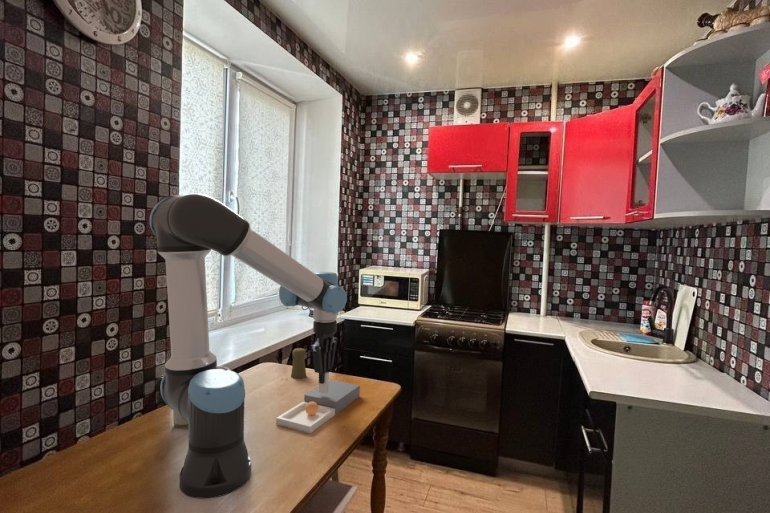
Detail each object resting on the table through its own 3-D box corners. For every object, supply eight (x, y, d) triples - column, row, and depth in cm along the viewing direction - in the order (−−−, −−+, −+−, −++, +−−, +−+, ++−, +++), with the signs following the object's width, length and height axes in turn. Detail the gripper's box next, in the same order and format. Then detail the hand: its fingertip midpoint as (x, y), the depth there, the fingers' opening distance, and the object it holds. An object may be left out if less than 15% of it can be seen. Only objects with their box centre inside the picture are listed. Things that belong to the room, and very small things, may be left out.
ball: (318, 417, 124) (312, 414, 121) (307, 415, 126) (301, 412, 123) (322, 404, 126) (316, 401, 123) (311, 402, 128) (305, 398, 125)
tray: (310, 433, 114) (310, 426, 114) (276, 424, 119) (276, 417, 119) (335, 414, 126) (335, 408, 126) (303, 407, 131) (303, 401, 131)
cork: (309, 375, 161) (310, 348, 161) (298, 379, 156) (299, 351, 155) (298, 372, 164) (299, 345, 164) (287, 376, 159) (288, 349, 159)
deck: (335, 414, 127) (336, 401, 126) (304, 406, 131) (304, 394, 131) (359, 396, 141) (359, 385, 141) (330, 390, 146) (330, 379, 146)
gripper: (324, 325, 122) (322, 401, 123) (345, 317, 134) (343, 387, 135) (303, 322, 125) (301, 396, 126) (326, 315, 137) (324, 383, 138)
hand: (323, 392), depth 131 cm, fingers closed
